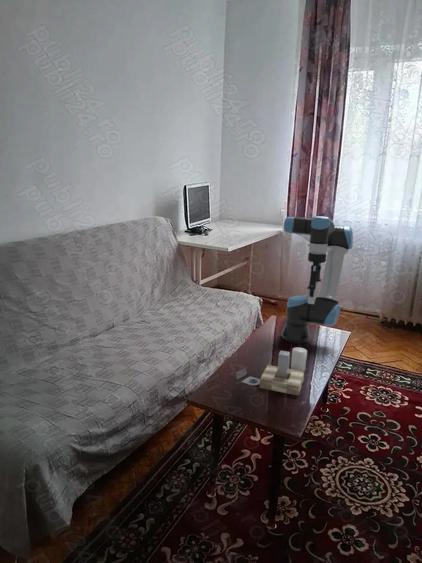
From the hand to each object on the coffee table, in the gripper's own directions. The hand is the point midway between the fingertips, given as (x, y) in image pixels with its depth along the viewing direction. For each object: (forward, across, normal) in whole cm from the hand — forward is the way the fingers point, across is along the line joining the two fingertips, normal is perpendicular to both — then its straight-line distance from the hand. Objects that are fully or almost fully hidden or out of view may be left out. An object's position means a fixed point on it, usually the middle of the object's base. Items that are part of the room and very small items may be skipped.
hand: (312, 299), depth 185 cm
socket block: (+32, +23, -7) cm, 40 cm away
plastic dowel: (+32, +6, -3) cm, 32 cm away
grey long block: (+32, +23, -7) cm, 40 cm away
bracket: (+32, +25, -20) cm, 46 cm away
